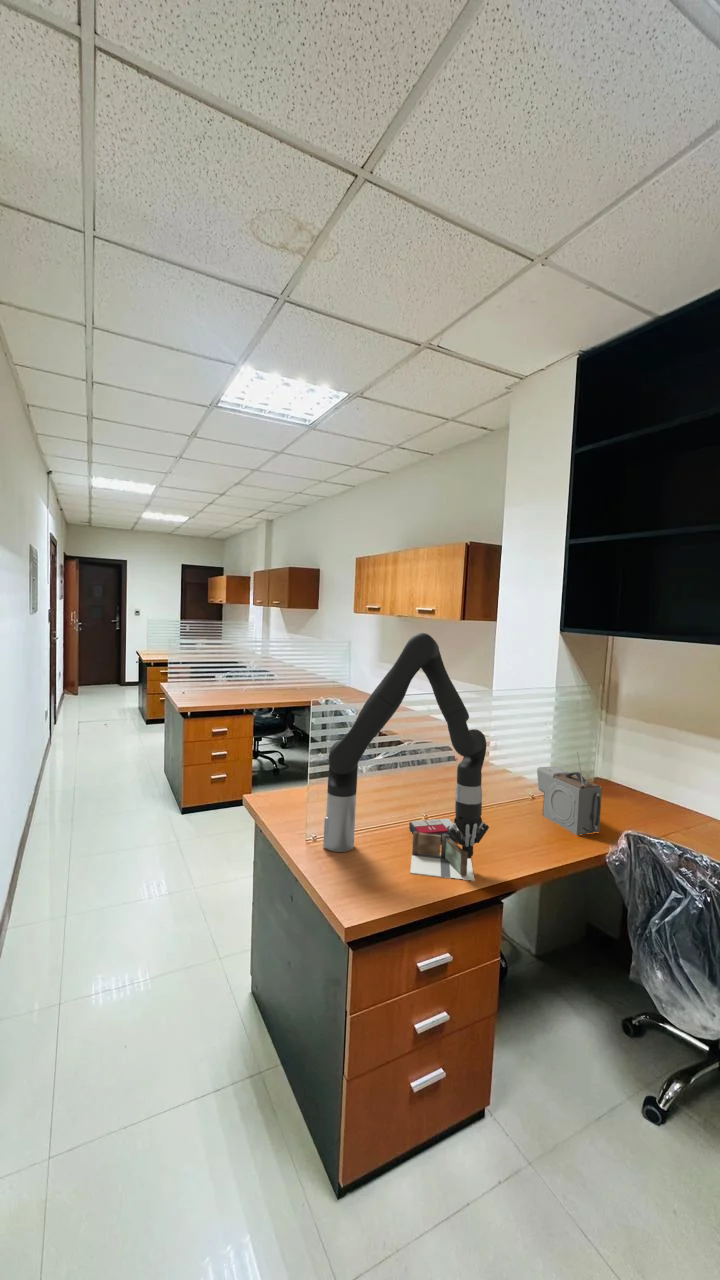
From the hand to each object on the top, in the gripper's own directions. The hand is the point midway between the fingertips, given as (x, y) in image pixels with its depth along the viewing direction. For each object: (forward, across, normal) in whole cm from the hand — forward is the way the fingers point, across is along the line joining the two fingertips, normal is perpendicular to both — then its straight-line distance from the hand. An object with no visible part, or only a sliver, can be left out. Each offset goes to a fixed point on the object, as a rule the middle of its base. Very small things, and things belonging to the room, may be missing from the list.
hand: (467, 857), depth 141 cm
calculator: (+4, -1, -24) cm, 25 cm away
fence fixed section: (+3, +7, -10) cm, 13 cm away
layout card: (+4, +6, -4) cm, 8 cm away
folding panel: (+3, +3, -1) cm, 4 cm away
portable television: (+5, -56, -26) cm, 62 cm away
